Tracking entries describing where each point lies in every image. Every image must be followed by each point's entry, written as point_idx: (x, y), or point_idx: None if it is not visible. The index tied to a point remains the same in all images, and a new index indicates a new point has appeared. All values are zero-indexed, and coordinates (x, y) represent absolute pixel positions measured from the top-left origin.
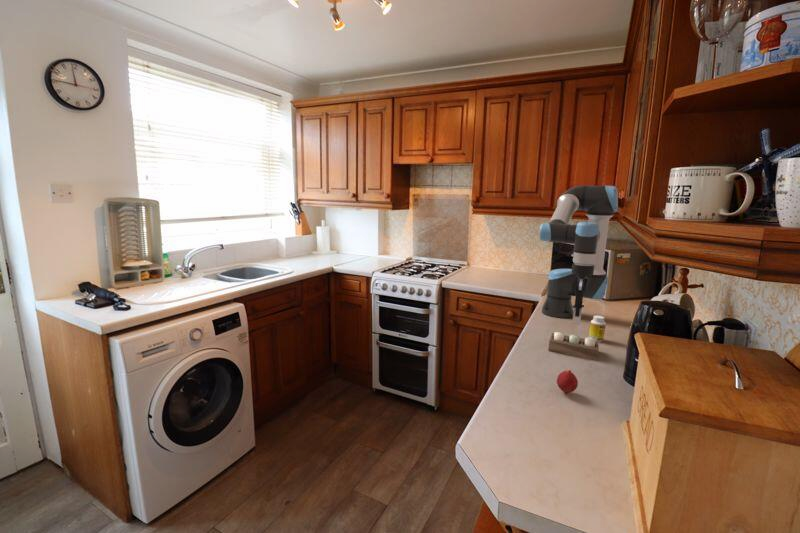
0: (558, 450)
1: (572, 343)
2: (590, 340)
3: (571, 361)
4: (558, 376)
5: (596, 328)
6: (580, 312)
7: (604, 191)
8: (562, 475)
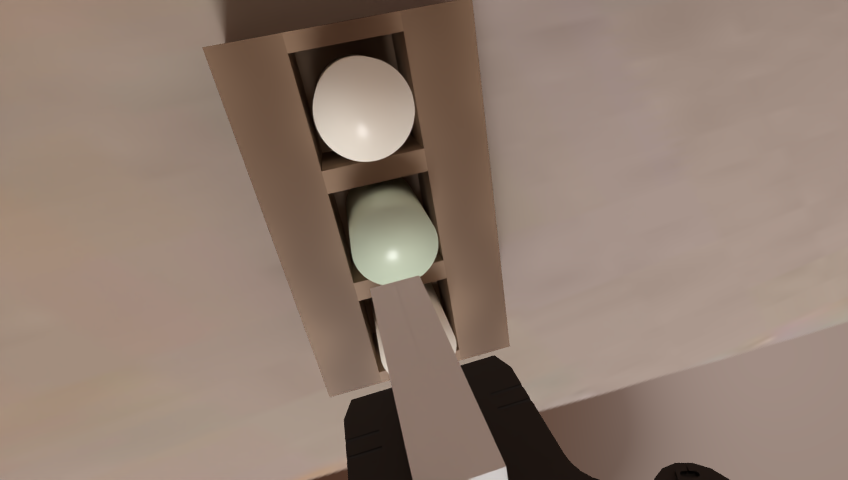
0: None
1: (453, 221)
2: (406, 100)
3: (568, 154)
4: None
5: None
6: (475, 407)
7: None
8: None
